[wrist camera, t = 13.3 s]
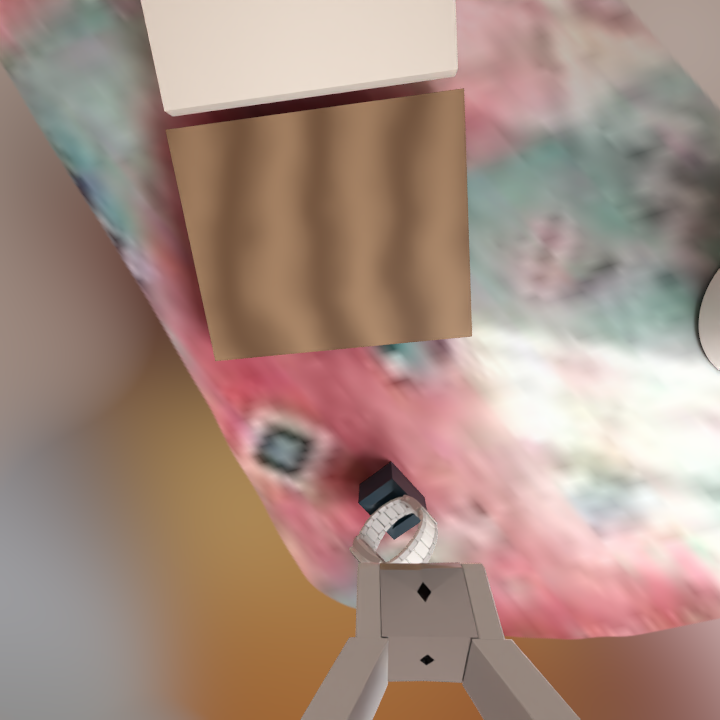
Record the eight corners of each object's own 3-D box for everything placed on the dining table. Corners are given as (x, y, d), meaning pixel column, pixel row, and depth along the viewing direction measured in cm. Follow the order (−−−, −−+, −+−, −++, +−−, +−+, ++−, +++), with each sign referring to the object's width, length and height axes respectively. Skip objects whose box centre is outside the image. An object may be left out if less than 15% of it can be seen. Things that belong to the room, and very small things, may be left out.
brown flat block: (453, 108, 31) (463, 88, 28) (461, 327, 36) (471, 336, 32) (190, 143, 33) (165, 129, 29) (231, 349, 38) (215, 361, 34)
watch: (345, 494, 42) (335, 578, 31) (404, 451, 40) (414, 524, 29) (379, 529, 43) (380, 621, 32) (438, 488, 41) (459, 571, 30)
